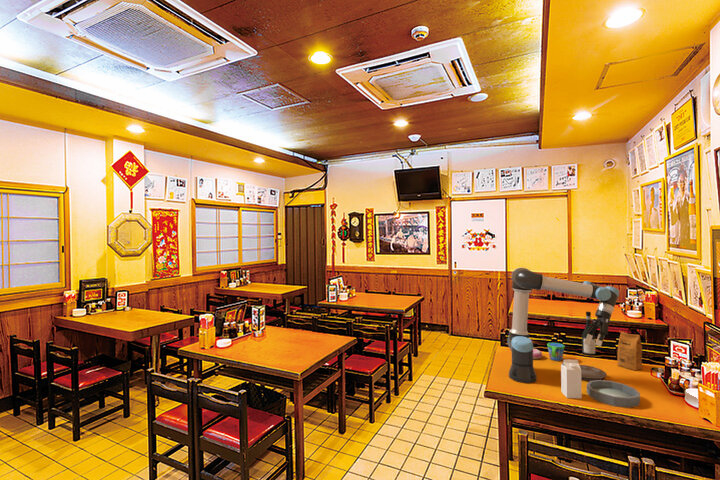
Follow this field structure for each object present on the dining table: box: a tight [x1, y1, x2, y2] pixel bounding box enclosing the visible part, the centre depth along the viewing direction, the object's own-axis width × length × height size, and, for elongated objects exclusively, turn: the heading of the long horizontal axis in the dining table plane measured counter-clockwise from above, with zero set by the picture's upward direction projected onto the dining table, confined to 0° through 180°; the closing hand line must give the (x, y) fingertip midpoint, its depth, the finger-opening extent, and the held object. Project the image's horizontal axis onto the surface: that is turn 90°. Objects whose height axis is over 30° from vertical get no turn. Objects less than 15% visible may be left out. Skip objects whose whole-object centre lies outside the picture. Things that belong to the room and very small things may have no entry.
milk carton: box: [560, 359, 582, 400], centre depth 189 cm, size 7×7×19 cm
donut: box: [533, 348, 543, 360], centre depth 250 cm, size 14×13×5 cm
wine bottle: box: [581, 311, 596, 356], centre depth 254 cm, size 8×8×30 cm
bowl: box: [586, 379, 641, 408], centre depth 186 cm, size 22×22×4 cm
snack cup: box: [547, 342, 566, 362], centre depth 244 cm, size 16×11×10 cm
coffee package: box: [616, 331, 643, 371], centre depth 228 cm, size 10×12×22 cm
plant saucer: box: [579, 364, 607, 382], centre depth 215 cm, size 21×21×3 cm
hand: (591, 345), depth 208 cm, fingers open, 13 cm apart
